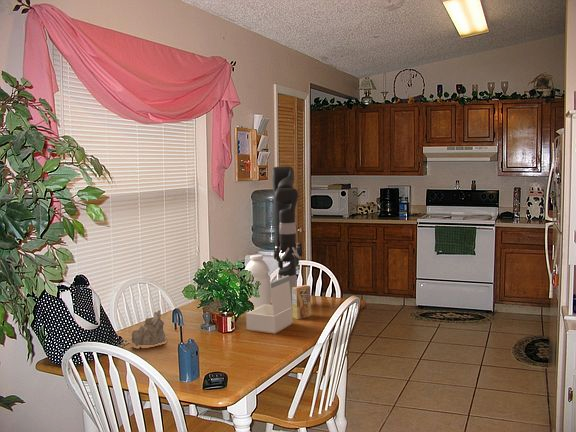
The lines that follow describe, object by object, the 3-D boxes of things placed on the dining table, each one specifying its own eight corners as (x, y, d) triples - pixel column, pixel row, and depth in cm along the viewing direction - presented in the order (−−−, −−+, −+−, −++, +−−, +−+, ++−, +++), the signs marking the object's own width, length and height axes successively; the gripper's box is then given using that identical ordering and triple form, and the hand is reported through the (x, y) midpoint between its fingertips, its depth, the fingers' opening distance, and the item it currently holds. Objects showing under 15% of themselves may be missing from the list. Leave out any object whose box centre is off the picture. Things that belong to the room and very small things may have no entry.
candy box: (305, 314, 292) (304, 284, 290) (311, 316, 288) (310, 285, 287) (292, 318, 286) (291, 287, 284) (297, 319, 283) (296, 288, 281)
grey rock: (163, 334, 265) (160, 303, 262) (170, 346, 250) (166, 313, 247) (128, 341, 259) (124, 309, 257) (133, 354, 244) (129, 320, 242)
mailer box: (246, 330, 268) (246, 313, 268) (265, 320, 283) (264, 304, 282) (275, 333, 261) (274, 316, 260) (292, 323, 276) (292, 307, 275)
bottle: (241, 306, 311) (239, 254, 308) (265, 303, 317) (263, 252, 314) (250, 312, 298) (248, 258, 295) (275, 308, 304) (273, 256, 301)
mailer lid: (273, 315, 261) (269, 282, 260) (291, 306, 276) (287, 275, 275) (274, 315, 260) (270, 282, 260) (292, 306, 275) (288, 275, 274)
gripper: (295, 229, 271) (296, 263, 273) (269, 233, 263) (271, 268, 265) (305, 231, 265) (306, 266, 267) (279, 234, 257) (280, 270, 259)
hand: (288, 267), depth 266 cm, fingers open, 8 cm apart
